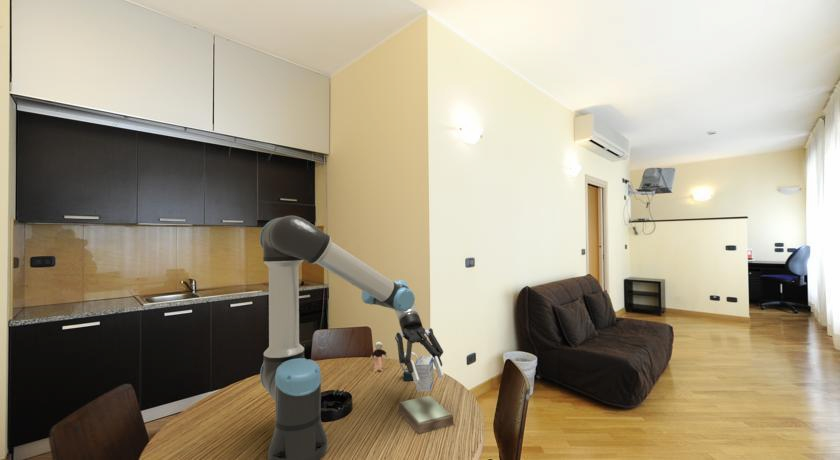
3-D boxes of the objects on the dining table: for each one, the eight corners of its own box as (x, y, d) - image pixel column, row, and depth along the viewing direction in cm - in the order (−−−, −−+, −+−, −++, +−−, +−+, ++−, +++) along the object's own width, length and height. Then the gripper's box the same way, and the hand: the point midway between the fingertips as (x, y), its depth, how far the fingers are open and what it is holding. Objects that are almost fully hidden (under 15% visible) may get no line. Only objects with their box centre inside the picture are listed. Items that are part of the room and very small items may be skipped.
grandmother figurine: (372, 373, 151) (372, 344, 152) (369, 370, 155) (369, 341, 155) (388, 370, 155) (388, 341, 156) (385, 367, 159) (385, 339, 159)
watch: (399, 376, 148) (399, 350, 148) (418, 376, 147) (418, 350, 148) (398, 381, 142) (398, 354, 143) (418, 381, 142) (417, 354, 142)
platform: (418, 433, 103) (418, 423, 103) (398, 410, 117) (398, 401, 117) (453, 424, 108) (453, 414, 108) (430, 403, 122) (430, 394, 122)
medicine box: (429, 392, 109) (429, 364, 109) (415, 391, 110) (415, 363, 110) (433, 382, 117) (433, 356, 117) (420, 381, 117) (420, 355, 118)
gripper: (431, 321, 132) (454, 378, 117) (379, 327, 123) (395, 391, 108) (437, 309, 127) (462, 367, 112) (383, 315, 119) (402, 379, 103)
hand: (429, 379), depth 110 cm, fingers closed on medicine box, 8 cm apart
